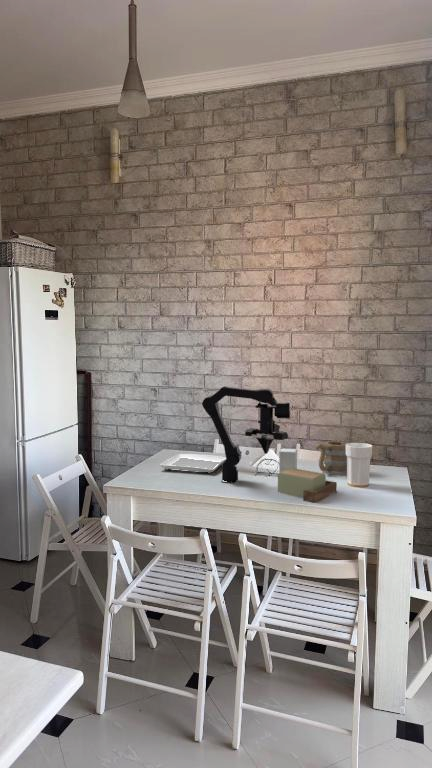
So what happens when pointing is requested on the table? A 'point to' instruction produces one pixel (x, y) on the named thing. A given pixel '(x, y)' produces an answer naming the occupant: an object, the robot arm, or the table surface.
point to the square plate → (169, 462)
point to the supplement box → (287, 459)
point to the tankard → (333, 458)
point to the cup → (358, 464)
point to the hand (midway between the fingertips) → (265, 453)
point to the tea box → (299, 481)
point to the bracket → (320, 492)
